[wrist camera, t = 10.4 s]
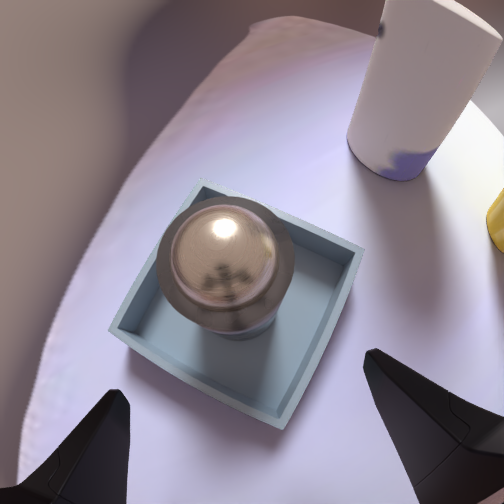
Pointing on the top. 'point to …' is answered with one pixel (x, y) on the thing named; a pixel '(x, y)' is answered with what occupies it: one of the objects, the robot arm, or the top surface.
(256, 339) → the bin
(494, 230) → the plant pot
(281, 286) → the metallic can
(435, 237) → the top surface
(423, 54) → the container
